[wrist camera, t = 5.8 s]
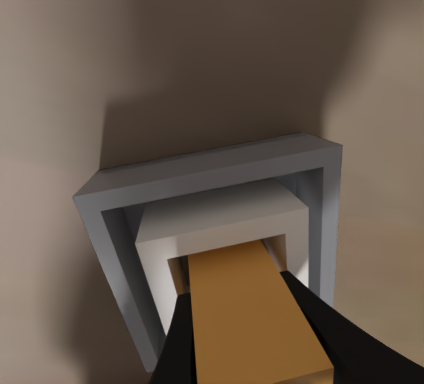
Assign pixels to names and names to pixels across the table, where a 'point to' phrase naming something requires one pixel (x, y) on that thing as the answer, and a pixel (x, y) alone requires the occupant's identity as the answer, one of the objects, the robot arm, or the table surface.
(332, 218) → the walled box
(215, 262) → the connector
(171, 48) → the table surface
